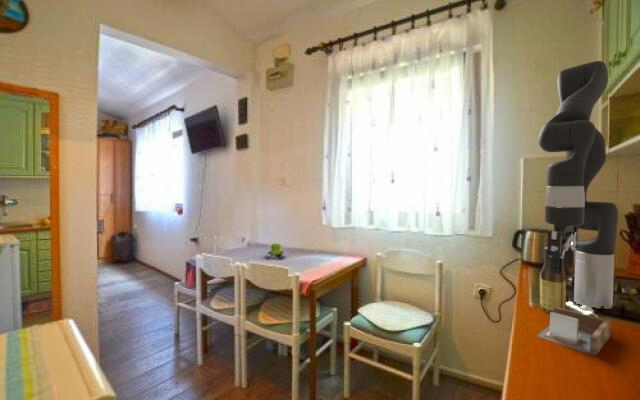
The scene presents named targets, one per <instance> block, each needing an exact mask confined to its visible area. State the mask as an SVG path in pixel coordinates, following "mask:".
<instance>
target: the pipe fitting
mask: <svg viewBox="0 0 640 400" xmlns="http://www.w3.org/2000/svg"><path fill="white" fill-rule="evenodd" d="M566 310H570V311H573V312H577V313H581V314H585V315H589V316H593V317H597V318H599V316H598V315H597V314H595V311H594V309H592V308H591V307H590V306H587V305H582V306H581V305H578V304H576V303H575V302H574V303H573V302H572V301H568V302H567V301H566Z"/></svg>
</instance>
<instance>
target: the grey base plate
mask: <svg viewBox="0 0 640 400" xmlns="http://www.w3.org/2000/svg"><path fill="white" fill-rule="evenodd" d="M578 334H581V335H583V339H582V340H581V341H580V342H579V343H578V344H577V345H576V344H573V343H570V342H567V341H564V340H561V339H558V338H555V337H553V336H550V324H549V325H548V326H547V327H546V328H544V329H543V330H542V331H541V332H540V333H538V334H537V335H536V337H538V338H540V339H544V340H547V341H550V342H553V343H556V344H559V345H561V346H565V347H568V348H571V349H573V350H576V351H580V352H583V353H585V354H589V355H591V354H590V337H591V336H592V334H593V333H591V332H588V331H584V330H581V329H579V331H578Z"/></svg>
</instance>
